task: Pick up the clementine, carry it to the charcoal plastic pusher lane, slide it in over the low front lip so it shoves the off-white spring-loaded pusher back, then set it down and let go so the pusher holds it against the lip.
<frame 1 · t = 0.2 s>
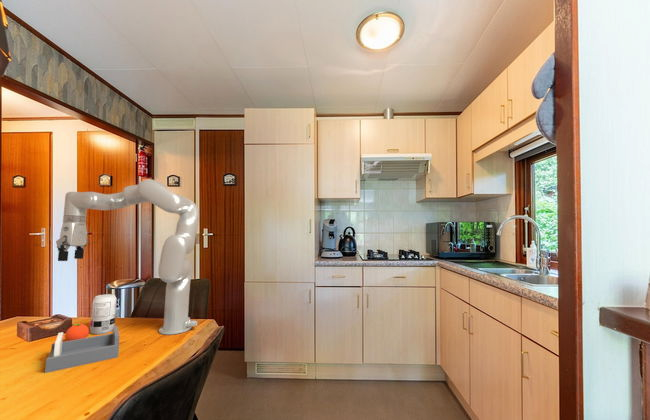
hand: (71, 259, 120), 31 cm above the table, tool pointing down, fingers open, 9 cm apart
clementine: (75, 343, 108), on the table
pusher: (58, 348, 92), point 4 cm above the table, slide at 0.0 cm
supplement can: (102, 331, 120), on the table
lane: (84, 356, 96), on the table
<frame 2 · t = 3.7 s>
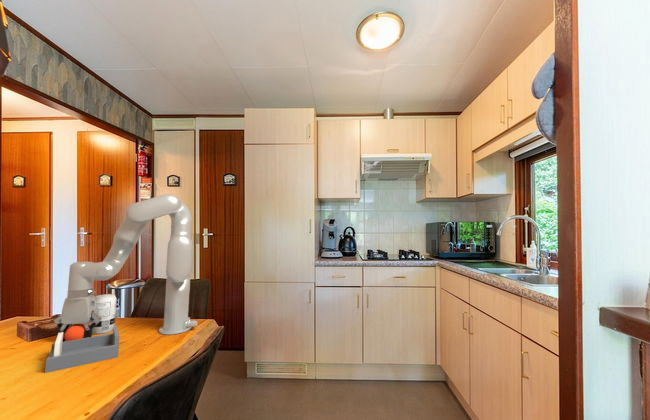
hand: (76, 339, 108), 1 cm above the table, tool pointing down, fingers closed on clementine, 7 cm apart
clementine: (75, 343, 108), on the table, touching gripper
everything else where it was.
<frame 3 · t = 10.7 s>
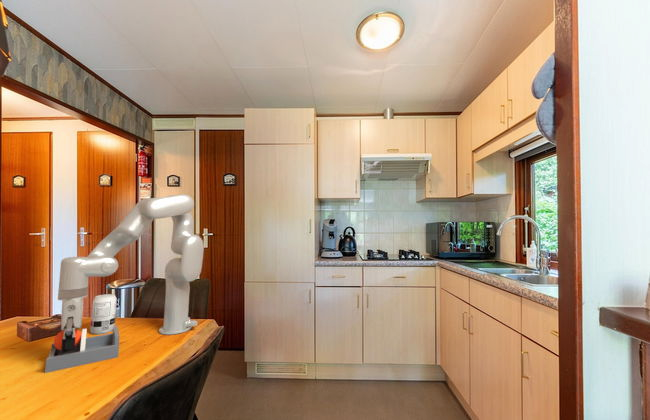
hand: (68, 346, 94), 4 cm above the table, tool pointing down, fingers closed on clementine, 7 cm apart
clementine: (68, 349, 94), point 3 cm above the table, touching gripper, pusher
pusher: (83, 343, 96), point 4 cm above the table, slide at 6.3 cm, touching clementine
everything else where it was.
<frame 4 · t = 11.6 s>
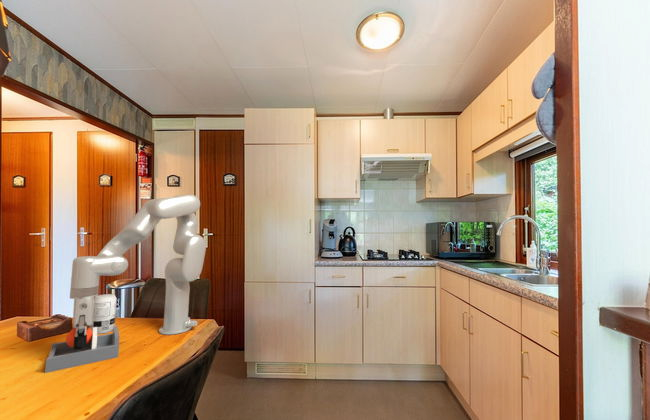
hand: (80, 344, 96), 4 cm above the table, tool pointing down, fingers closed on clementine, 7 cm apart
clementine: (79, 347, 96), point 3 cm above the table, touching gripper, pusher
pusher: (94, 341, 98), point 4 cm above the table, slide at 9.2 cm, touching clementine
everything else where it was.
when the fingers open (3 cm above the table, at t = 13.2 s): clementine stays where it is, resting on lane, pusher.
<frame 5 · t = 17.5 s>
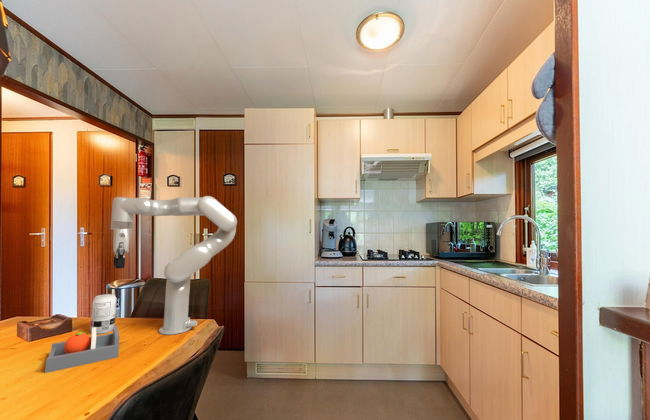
hand: (118, 266, 117), 28 cm above the table, tool pointing down, fingers open, 9 cm apart
clementine: (79, 354, 96), point 1 cm above the table, touching lane, pusher
everything else where it was.
at the end: clementine 1.4 cm from the lane (horizontally); pusher slide at 8.9 cm; the gripper is holding nothing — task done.
